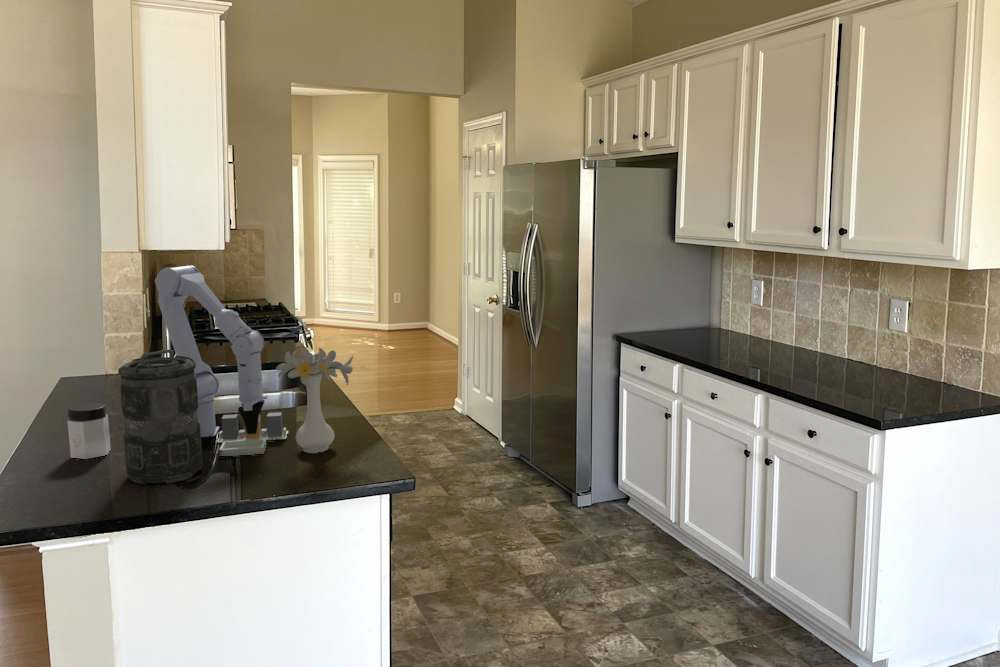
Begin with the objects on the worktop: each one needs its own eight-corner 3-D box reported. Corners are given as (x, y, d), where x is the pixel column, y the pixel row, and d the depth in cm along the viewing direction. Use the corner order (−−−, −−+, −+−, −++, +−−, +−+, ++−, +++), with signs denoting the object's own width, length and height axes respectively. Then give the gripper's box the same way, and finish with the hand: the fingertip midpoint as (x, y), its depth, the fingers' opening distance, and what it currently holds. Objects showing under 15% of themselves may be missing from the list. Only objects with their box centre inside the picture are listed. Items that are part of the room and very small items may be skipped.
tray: (219, 457, 195) (218, 449, 194) (224, 448, 202) (223, 441, 201) (263, 454, 196) (263, 447, 196) (266, 445, 203) (266, 439, 203)
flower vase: (362, 450, 199) (359, 350, 195) (286, 462, 191) (281, 357, 187) (346, 437, 211) (342, 341, 206) (274, 447, 202) (269, 348, 198)
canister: (156, 491, 172) (146, 361, 167) (111, 478, 180) (101, 353, 176) (218, 470, 185) (210, 349, 181) (173, 458, 194) (165, 342, 189)
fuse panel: (216, 444, 205) (215, 420, 204) (221, 436, 212) (219, 413, 211) (286, 440, 208) (285, 417, 207) (288, 432, 215) (287, 410, 214)
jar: (62, 458, 194) (58, 409, 192) (89, 448, 202) (84, 401, 200) (92, 461, 192) (88, 412, 190) (118, 451, 199) (114, 404, 197)
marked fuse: (245, 438, 208) (243, 417, 207) (247, 434, 211) (245, 413, 210) (259, 437, 208) (258, 416, 207) (261, 433, 212) (260, 413, 211)
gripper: (263, 385, 201) (266, 438, 203) (269, 372, 215) (271, 422, 217) (233, 386, 200) (236, 439, 202) (241, 374, 214) (244, 424, 216)
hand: (253, 431), depth 209 cm, fingers open, 4 cm apart
